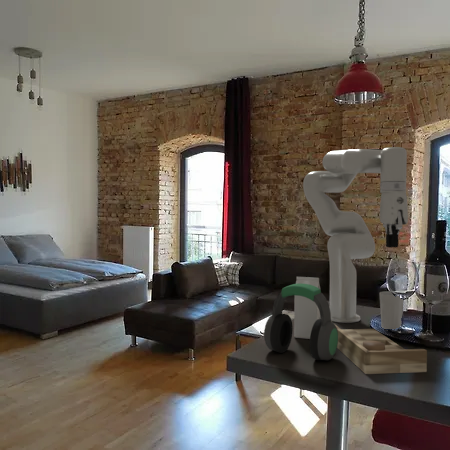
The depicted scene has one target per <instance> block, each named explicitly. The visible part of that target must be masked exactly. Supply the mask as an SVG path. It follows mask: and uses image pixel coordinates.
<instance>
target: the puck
mask: <svg viewBox="0 0 450 450" xmlns="http://www.w3.org/2000/svg"><path fill="white" fill-rule="evenodd" d="M363 347H364V348H366V349H367V350H368V351H374V350H385V344H384V343H382V342H379V341H364V342H363Z"/></svg>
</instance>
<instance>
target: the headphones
mask: <svg viewBox="0 0 450 450" xmlns="http://www.w3.org/2000/svg"><path fill="white" fill-rule="evenodd" d="M295 295H297V296H303V297H306V298H308V299H310V300H312V301H314V302H315V303H316V305H317V307H318V309H319V312H320V319H318V320H316V321H315V323H314V325H313V327H312V330H311V335H310V339H309V351H310V356H311V357H312V358H313V359H314V360H316V361H330V360H332V359H333V358H334V356H335V355H336V352H337V350H338V348H337V345H338V330H337V327H336V326H337V324H335V323H334V321H331V313H330V303H329V301H328V299H327V298H326V296H325V295H324V294H323V293H322V291H321V288H320V289H319V288H317V287H315V286H313V285H309V284H302V283H299V284H296V283H293V284H290V285H287V286H285V287H282V289H281V292H279V294H278V295H276V298H275V299H274V301H273V304H272V309H271V310H272V312H271V315H270V316H269V317H268V319H267V321H266V323H265V326H264V331H263V337H264V340H263V341H264V344H265V345H266V347H267V348H268V349H269V350H271V351H274V352H276V353H280V354H282V353H283V354H284V353H285V352H286V351H287V350H288V349H289V347H290V345H291V342H292V338H293V333H294V332H293V331H294V327H293V326H294V325H293V320H292V317H291V316H290V315H289V314H288V313H283V309H284V304H285V301H286V299H287V298H288V297H289V296H290V297H291V296H295Z"/></svg>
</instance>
